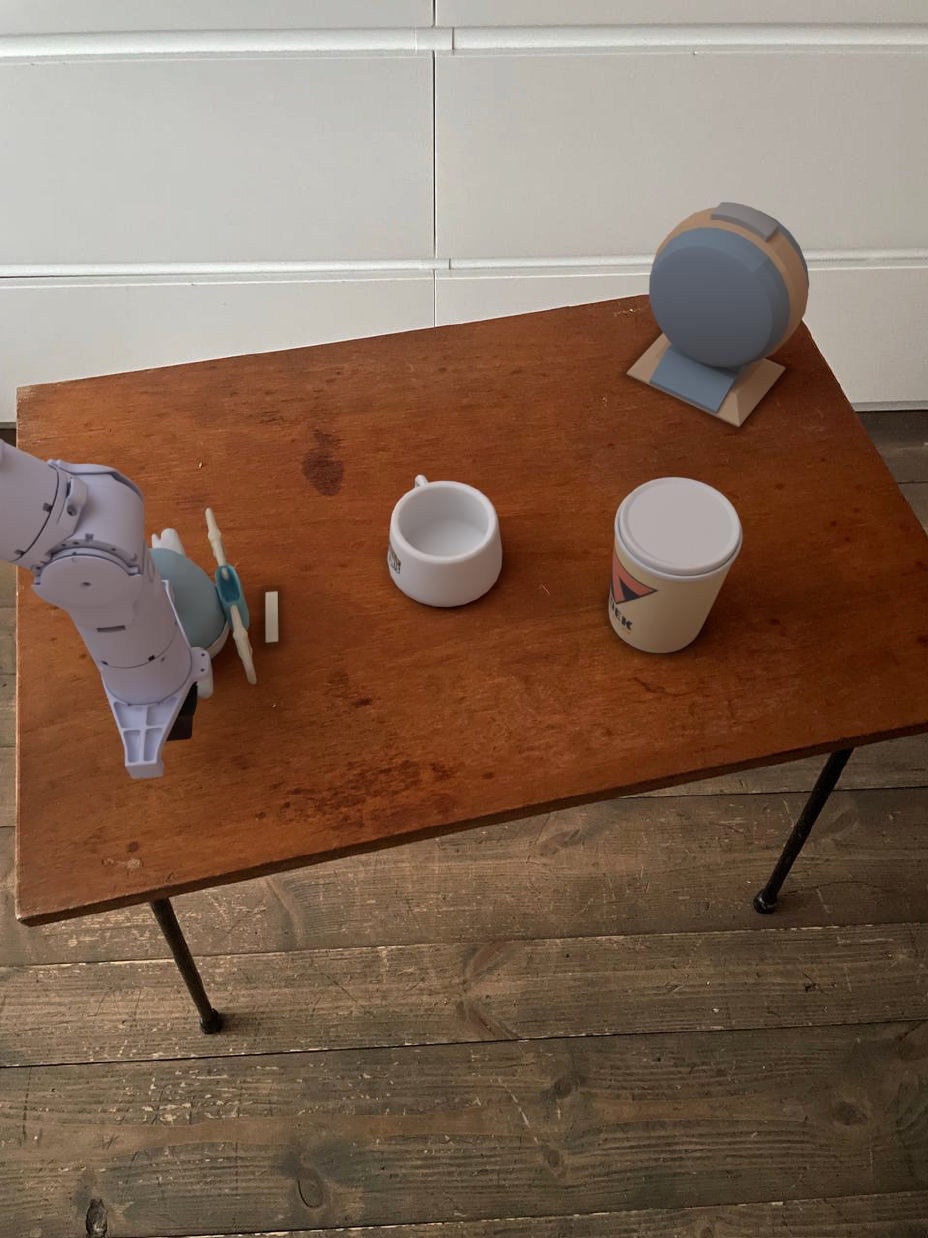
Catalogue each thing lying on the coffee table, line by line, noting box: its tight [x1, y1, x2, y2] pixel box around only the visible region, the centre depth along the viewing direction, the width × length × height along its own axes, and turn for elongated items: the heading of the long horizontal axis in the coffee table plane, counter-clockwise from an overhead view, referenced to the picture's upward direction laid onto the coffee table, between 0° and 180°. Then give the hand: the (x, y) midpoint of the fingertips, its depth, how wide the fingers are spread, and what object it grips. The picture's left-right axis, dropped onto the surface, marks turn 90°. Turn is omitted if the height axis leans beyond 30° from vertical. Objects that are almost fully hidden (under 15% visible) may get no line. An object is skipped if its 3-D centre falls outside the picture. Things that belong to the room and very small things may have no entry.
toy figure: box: [148, 507, 257, 699], centre depth 79 cm, size 17×10×15 cm, turn 18°
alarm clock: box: [626, 201, 810, 428], centre depth 97 cm, size 14×10×18 cm
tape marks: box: [265, 591, 279, 644], centre depth 87 cm, size 14×5×1 cm, turn 96°
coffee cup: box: [608, 476, 743, 654], centre depth 82 cm, size 9×9×12 cm
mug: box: [387, 474, 503, 608], centre depth 88 cm, size 12×10×6 cm
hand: (178, 733), depth 78 cm, fingers closed
